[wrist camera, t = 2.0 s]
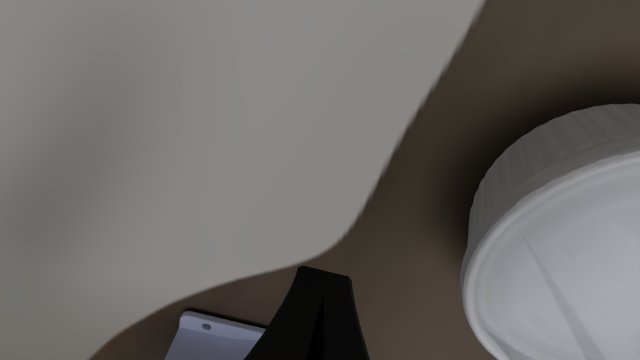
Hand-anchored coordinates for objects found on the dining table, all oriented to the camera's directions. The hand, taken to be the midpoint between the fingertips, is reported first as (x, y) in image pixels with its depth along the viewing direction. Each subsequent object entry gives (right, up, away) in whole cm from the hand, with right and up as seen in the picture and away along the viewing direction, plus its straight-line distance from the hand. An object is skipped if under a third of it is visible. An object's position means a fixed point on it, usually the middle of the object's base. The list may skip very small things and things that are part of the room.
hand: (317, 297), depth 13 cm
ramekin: (+11, +2, +8) cm, 14 cm away
